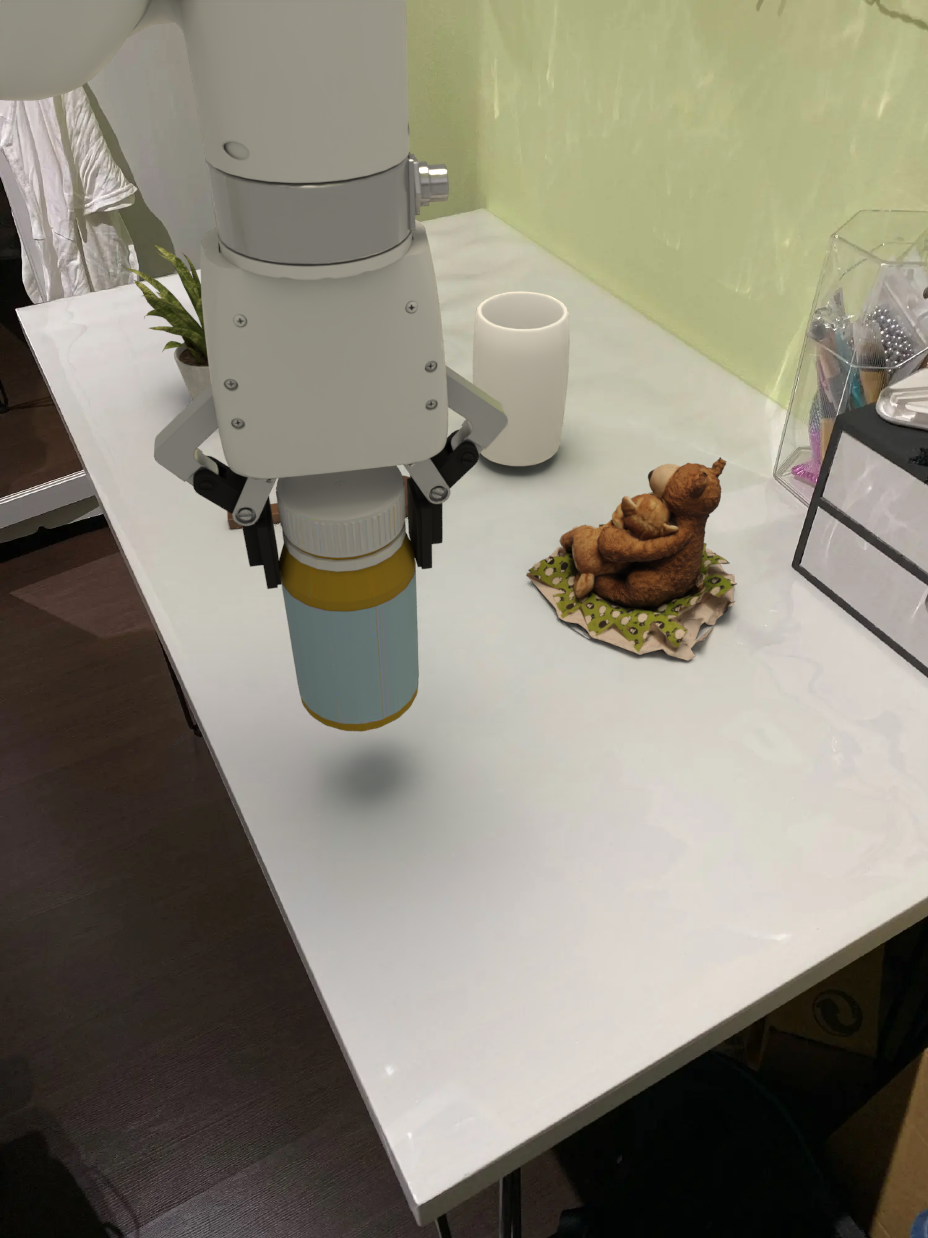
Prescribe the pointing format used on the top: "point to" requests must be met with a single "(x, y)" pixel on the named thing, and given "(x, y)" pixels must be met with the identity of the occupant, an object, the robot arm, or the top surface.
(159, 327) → the house plant
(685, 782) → the top surface
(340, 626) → the bottle
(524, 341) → the cup
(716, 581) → the bear figurine
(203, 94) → the robot arm
